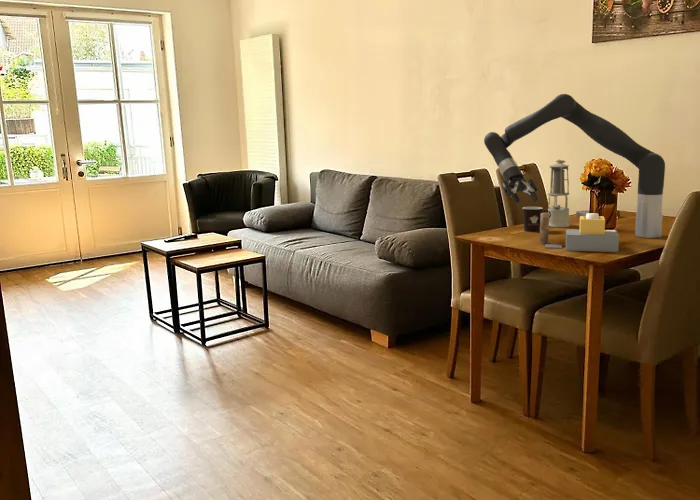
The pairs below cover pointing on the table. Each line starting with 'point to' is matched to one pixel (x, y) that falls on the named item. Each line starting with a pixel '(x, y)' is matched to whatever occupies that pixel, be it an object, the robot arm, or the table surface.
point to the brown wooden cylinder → (544, 228)
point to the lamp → (557, 183)
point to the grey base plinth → (592, 236)
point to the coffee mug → (532, 218)
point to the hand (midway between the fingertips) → (527, 201)
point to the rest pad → (553, 246)
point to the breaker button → (592, 216)
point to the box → (583, 213)
